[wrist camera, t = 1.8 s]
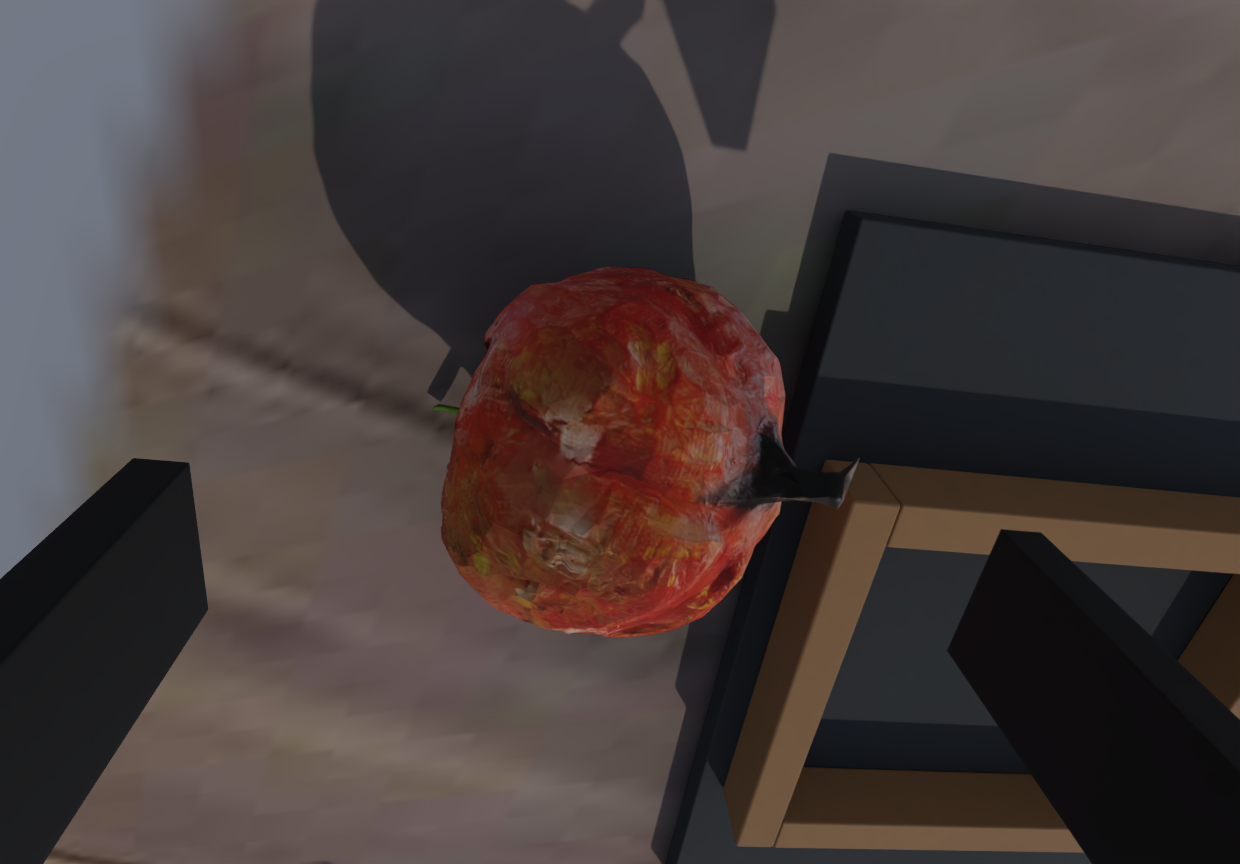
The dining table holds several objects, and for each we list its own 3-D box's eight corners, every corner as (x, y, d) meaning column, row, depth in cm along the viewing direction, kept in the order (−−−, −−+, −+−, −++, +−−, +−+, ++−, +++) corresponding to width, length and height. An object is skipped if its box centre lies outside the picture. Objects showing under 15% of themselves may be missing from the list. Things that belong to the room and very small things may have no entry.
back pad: (845, 209, 16) (901, 237, 14) (1436, 293, 18) (1585, 332, 16) (663, 868, 27) (675, 956, 24) (1052, 873, 29) (1102, 954, 26)
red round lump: (524, 490, 22) (859, 613, 17) (307, 599, 16) (726, 837, 11) (532, 234, 19) (930, 291, 14) (275, 249, 13) (807, 355, 8)
